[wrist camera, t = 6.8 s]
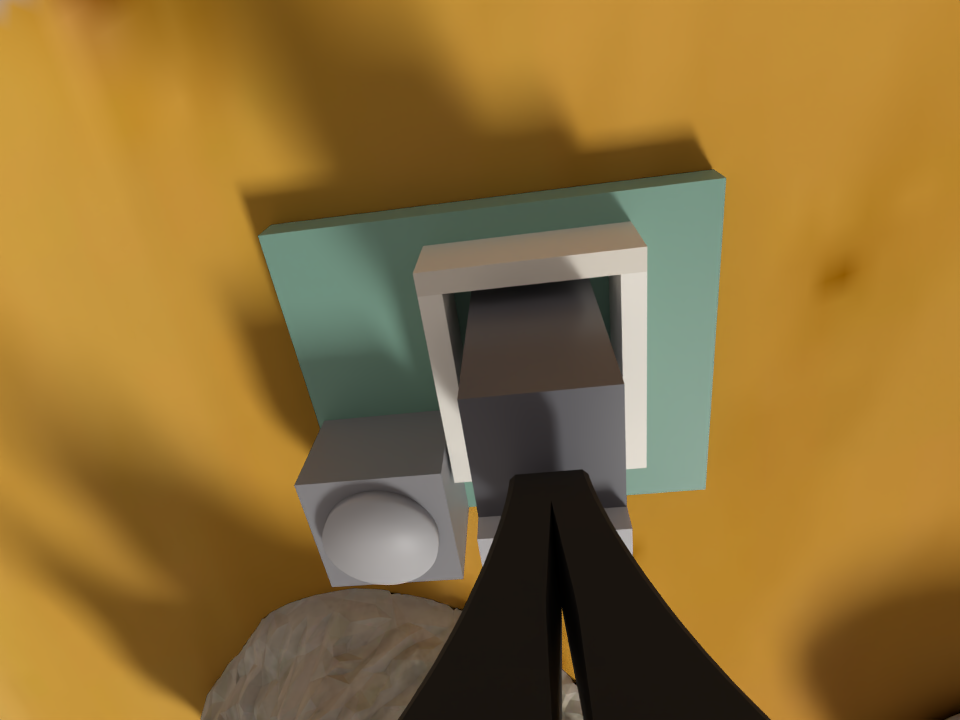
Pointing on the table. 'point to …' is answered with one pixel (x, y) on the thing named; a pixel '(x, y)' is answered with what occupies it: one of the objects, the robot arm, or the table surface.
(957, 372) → the table surface
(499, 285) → the board
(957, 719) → the teacup
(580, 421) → the plug
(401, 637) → the grey jagged lump
